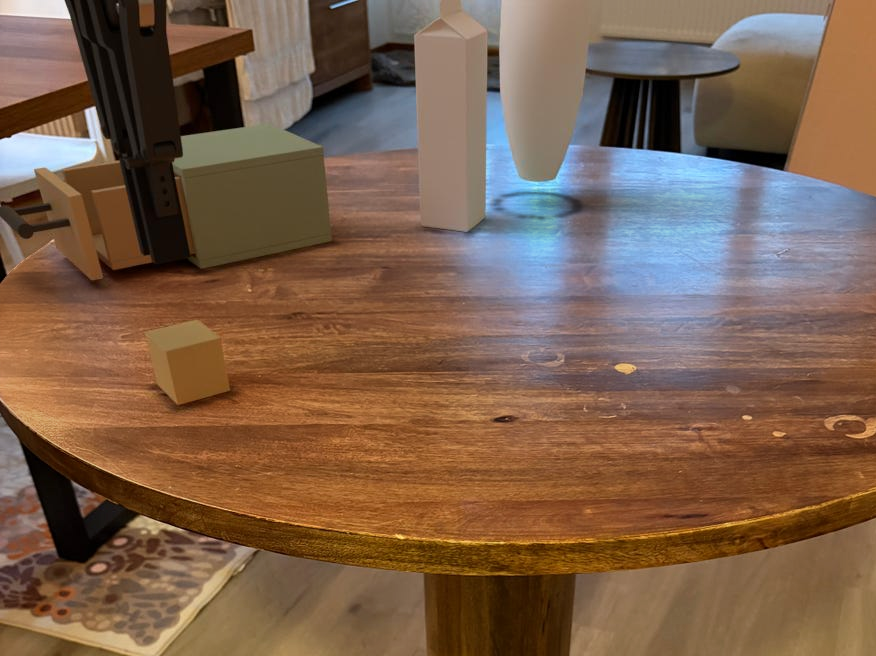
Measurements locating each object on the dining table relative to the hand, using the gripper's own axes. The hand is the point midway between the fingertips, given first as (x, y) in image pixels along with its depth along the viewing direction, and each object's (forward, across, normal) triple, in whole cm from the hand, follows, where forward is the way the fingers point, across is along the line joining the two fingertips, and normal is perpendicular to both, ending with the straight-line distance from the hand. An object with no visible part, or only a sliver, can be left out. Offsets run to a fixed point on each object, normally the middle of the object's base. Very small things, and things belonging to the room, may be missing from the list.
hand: (165, 254), depth 68 cm
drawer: (+10, +32, -5) cm, 34 cm away
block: (+11, 0, 0) cm, 11 cm away
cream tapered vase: (+11, +24, -55) cm, 61 cm away
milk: (+11, +23, -42) cm, 49 cm away
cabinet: (+11, +32, -19) cm, 39 cm away
